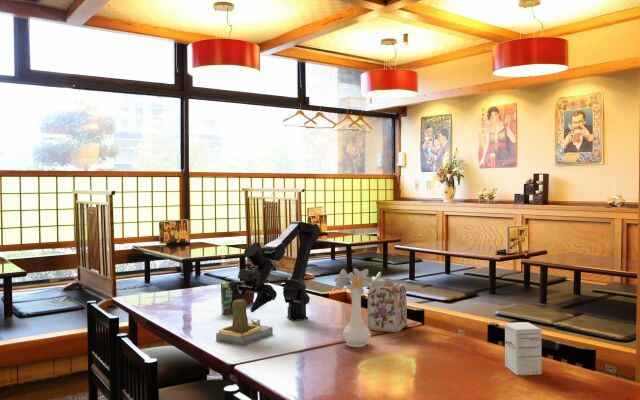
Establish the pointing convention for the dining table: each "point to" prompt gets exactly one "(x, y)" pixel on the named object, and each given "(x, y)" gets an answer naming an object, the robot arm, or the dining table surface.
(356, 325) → the flower vase
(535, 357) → the supplement box
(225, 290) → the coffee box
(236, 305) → the cork
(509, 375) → the dining table surface
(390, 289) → the decorative jar
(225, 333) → the grey base with knob
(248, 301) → the muffin
